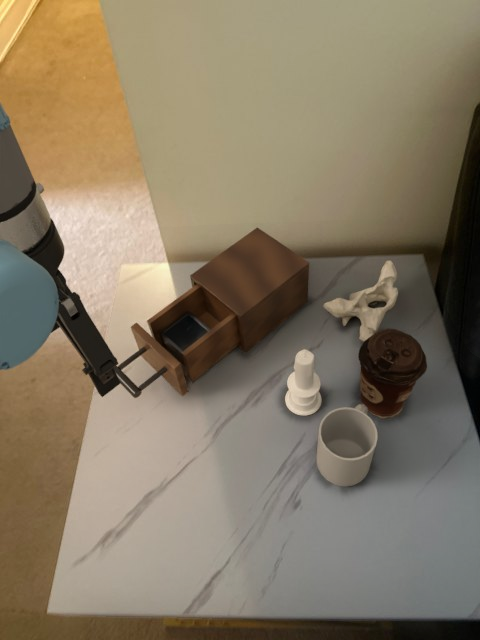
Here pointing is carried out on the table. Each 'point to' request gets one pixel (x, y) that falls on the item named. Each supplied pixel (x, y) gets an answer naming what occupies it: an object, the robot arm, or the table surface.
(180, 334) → the tray
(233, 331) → the drawer
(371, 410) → the coffee cup
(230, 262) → the cabinet
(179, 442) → the table surface
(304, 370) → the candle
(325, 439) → the cup
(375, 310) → the bone
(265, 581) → the table surface
